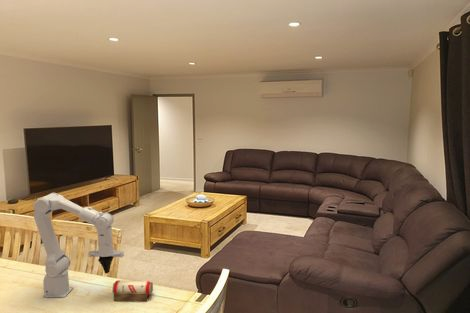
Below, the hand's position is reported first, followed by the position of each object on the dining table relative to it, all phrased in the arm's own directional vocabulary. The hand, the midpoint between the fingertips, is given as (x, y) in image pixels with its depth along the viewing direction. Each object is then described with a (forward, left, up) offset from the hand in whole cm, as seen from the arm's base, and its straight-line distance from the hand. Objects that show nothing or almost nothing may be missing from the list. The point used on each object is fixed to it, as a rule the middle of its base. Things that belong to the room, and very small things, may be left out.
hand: (107, 272), depth 153 cm
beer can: (+3, -1, -7) cm, 7 cm away
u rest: (+11, 0, -10) cm, 15 cm away
